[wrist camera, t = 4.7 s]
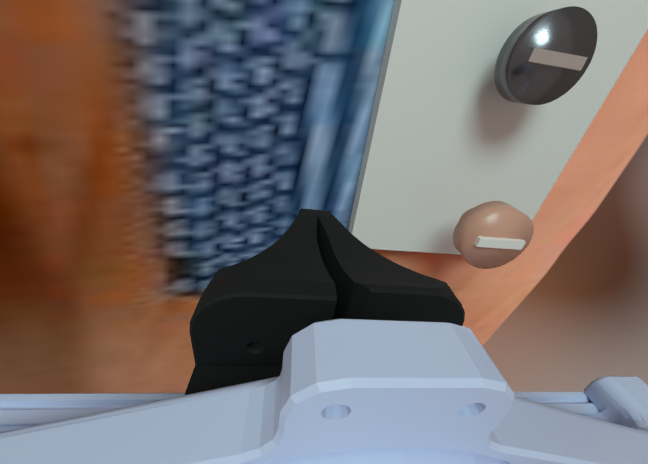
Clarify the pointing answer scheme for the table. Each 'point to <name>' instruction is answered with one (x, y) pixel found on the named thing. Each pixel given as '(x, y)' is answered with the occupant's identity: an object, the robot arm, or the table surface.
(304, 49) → the table surface
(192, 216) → the table surface
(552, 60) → the graphite knob
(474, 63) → the knob panel
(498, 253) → the light brown knob
